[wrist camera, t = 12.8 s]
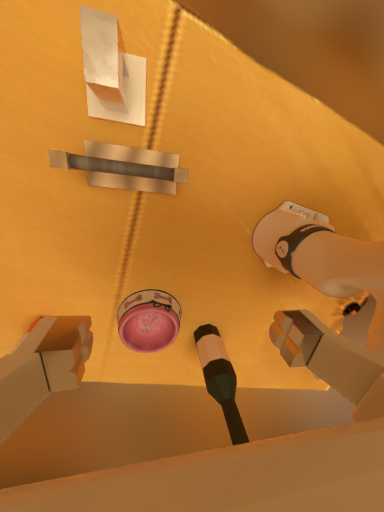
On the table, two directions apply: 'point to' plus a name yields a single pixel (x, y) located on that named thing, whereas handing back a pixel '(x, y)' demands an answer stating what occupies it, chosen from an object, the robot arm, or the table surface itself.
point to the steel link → (104, 58)
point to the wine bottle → (220, 378)
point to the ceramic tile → (134, 93)
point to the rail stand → (124, 167)
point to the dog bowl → (149, 320)
